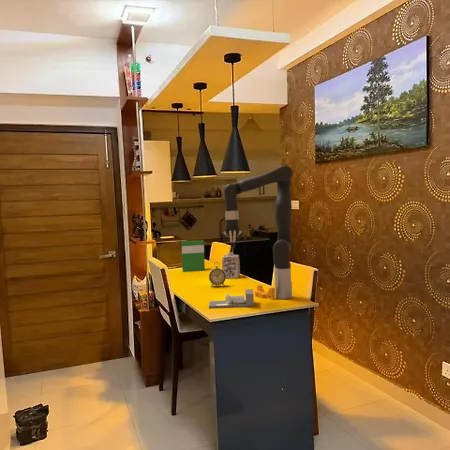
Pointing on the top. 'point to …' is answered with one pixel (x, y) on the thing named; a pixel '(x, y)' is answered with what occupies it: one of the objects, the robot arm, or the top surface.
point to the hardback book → (192, 256)
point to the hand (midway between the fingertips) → (233, 248)
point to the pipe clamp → (263, 294)
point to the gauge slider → (234, 299)
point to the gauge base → (247, 303)
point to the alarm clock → (217, 276)
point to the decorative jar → (231, 265)
